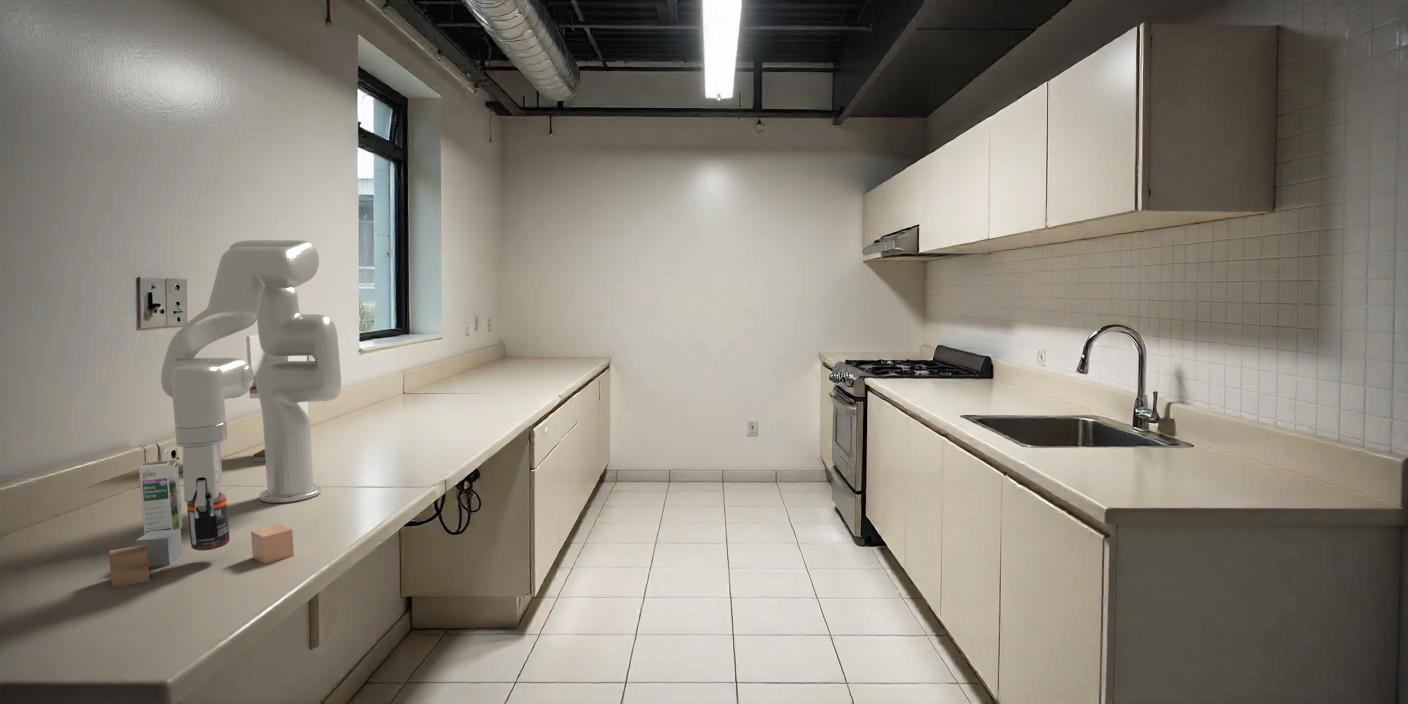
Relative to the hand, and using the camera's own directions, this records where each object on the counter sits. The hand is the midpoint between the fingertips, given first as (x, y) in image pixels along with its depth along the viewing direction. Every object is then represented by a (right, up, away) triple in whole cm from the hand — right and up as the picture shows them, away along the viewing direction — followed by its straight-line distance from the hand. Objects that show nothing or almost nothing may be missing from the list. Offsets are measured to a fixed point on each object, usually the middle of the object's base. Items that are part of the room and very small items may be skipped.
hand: (209, 531), depth 136 cm
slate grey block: (-9, -6, +1) cm, 11 cm away
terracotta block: (+10, -5, +3) cm, 12 cm away
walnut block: (-8, -6, -8) cm, 13 cm away
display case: (-32, +2, +82) cm, 88 cm away
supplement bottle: (0, -3, 0) cm, 3 cm away
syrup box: (-19, -4, +16) cm, 25 cm away
